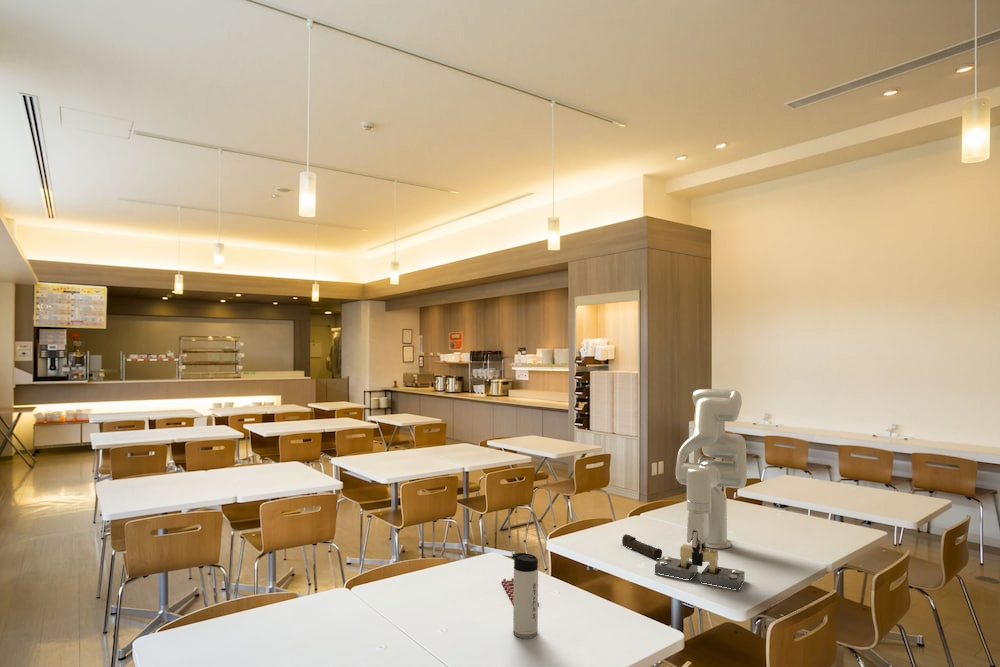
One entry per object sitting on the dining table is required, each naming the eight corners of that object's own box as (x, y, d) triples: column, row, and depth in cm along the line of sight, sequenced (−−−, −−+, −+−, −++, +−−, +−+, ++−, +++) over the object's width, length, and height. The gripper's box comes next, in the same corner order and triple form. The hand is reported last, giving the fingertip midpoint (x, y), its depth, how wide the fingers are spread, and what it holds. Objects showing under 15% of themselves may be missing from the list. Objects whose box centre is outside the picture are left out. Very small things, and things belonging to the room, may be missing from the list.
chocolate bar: (514, 610, 167) (514, 603, 167) (501, 585, 186) (501, 578, 186) (539, 608, 168) (539, 601, 169) (523, 583, 187) (523, 577, 187)
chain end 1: (663, 565, 203) (663, 554, 203) (697, 571, 197) (697, 560, 197) (654, 574, 195) (654, 563, 195) (689, 581, 189) (689, 569, 189)
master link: (683, 568, 197) (683, 544, 197) (718, 575, 191) (718, 550, 191) (680, 572, 193) (680, 547, 194) (715, 579, 188) (715, 553, 188)
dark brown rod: (663, 559, 210) (663, 546, 210) (654, 561, 208) (654, 547, 208) (628, 544, 227) (628, 532, 227) (620, 545, 225) (620, 533, 225)
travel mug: (510, 628, 155) (511, 550, 156) (535, 627, 155) (536, 550, 156) (513, 639, 149) (513, 559, 149) (539, 638, 149) (539, 558, 150)
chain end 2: (738, 591, 181) (738, 579, 181) (700, 583, 187) (700, 571, 187) (744, 581, 189) (744, 569, 189) (708, 573, 195) (708, 562, 195)
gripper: (693, 499, 202) (693, 553, 201) (680, 510, 188) (680, 568, 187) (716, 502, 198) (716, 558, 197) (704, 513, 184) (704, 573, 183)
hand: (699, 562), depth 192 cm, fingers closed on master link, 4 cm apart
